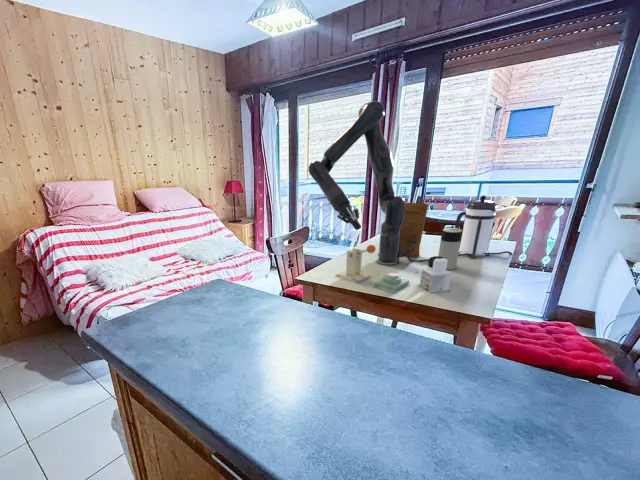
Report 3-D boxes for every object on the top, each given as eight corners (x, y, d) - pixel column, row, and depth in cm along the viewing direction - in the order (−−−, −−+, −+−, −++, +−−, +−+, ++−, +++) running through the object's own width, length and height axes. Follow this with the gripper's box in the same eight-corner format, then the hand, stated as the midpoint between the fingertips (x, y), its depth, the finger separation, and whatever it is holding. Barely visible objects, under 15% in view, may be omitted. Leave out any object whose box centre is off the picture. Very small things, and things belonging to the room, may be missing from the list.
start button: (390, 275, 139) (390, 272, 138) (399, 278, 136) (399, 274, 135) (385, 278, 137) (385, 274, 136) (394, 280, 134) (394, 276, 133)
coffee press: (489, 251, 172) (501, 193, 161) (489, 260, 160) (503, 197, 149) (451, 248, 181) (460, 193, 170) (449, 256, 169) (459, 197, 158)
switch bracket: (370, 277, 149) (372, 250, 144) (358, 282, 144) (360, 254, 139) (348, 271, 157) (349, 245, 153) (336, 276, 152) (337, 250, 148)
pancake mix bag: (418, 259, 168) (425, 204, 157) (383, 253, 181) (387, 202, 171) (423, 256, 172) (431, 202, 162) (389, 250, 185) (393, 200, 175)
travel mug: (458, 269, 151) (465, 231, 144) (439, 269, 152) (445, 231, 145) (452, 264, 158) (458, 227, 151) (434, 264, 159) (440, 227, 153)
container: (419, 285, 137) (423, 255, 132) (437, 283, 137) (441, 254, 132) (430, 292, 129) (434, 261, 125) (448, 290, 130) (454, 259, 125)
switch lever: (378, 251, 138) (375, 243, 138) (373, 252, 136) (370, 244, 136) (355, 257, 149) (353, 250, 148) (350, 259, 147) (348, 251, 146)
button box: (388, 280, 144) (389, 271, 143) (408, 285, 138) (409, 276, 136) (374, 287, 138) (375, 278, 136) (394, 292, 131) (395, 283, 130)
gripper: (332, 194, 139) (355, 226, 134) (351, 190, 146) (373, 220, 141) (322, 205, 145) (344, 236, 140) (341, 201, 152) (362, 231, 147)
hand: (359, 228), depth 141 cm, fingers closed
